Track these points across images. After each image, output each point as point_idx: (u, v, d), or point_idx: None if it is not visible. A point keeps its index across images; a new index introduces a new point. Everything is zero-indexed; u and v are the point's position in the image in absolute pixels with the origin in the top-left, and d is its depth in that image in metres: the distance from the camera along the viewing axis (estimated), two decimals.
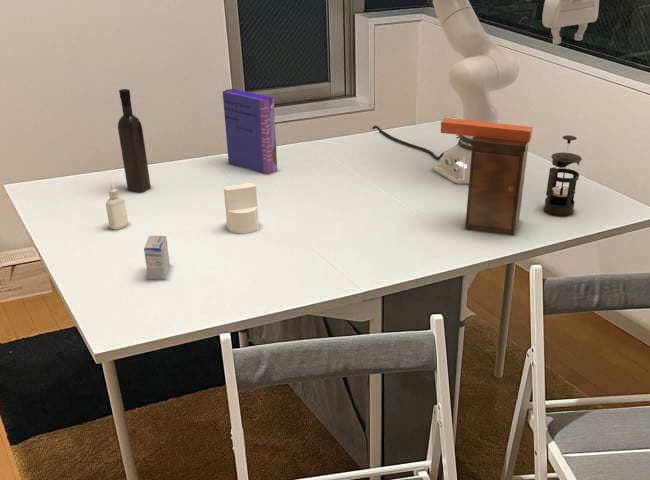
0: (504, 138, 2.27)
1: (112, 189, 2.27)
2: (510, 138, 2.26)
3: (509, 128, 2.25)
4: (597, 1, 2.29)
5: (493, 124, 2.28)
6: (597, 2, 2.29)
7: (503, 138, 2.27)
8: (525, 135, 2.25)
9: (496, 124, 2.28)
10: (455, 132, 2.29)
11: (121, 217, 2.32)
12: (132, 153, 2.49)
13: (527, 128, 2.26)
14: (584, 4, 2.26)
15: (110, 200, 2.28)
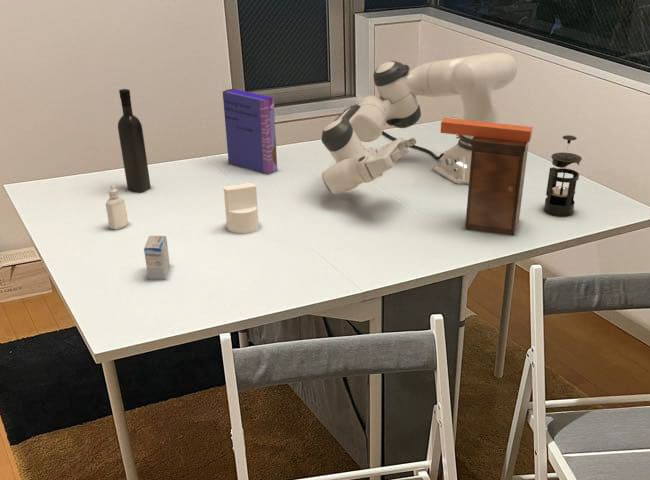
0: (504, 138, 2.27)
1: (112, 189, 2.27)
2: (510, 138, 2.26)
3: (509, 128, 2.25)
4: (386, 144, 2.47)
5: (493, 124, 2.28)
6: (387, 144, 2.47)
7: (503, 138, 2.27)
8: (525, 135, 2.25)
9: (496, 124, 2.28)
10: (455, 132, 2.29)
11: (121, 217, 2.32)
12: (132, 153, 2.49)
13: (527, 128, 2.26)
14: (383, 150, 2.43)
15: (110, 200, 2.28)
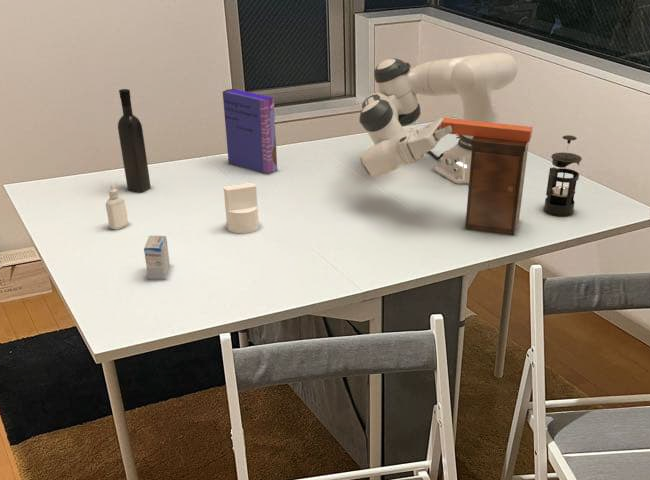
0: (504, 138, 2.27)
1: (112, 189, 2.27)
2: (510, 138, 2.26)
3: (509, 128, 2.25)
4: (426, 125, 2.41)
5: (493, 124, 2.28)
6: None
7: (503, 138, 2.27)
8: (525, 135, 2.25)
9: (496, 124, 2.28)
10: (455, 132, 2.29)
11: (121, 217, 2.32)
12: (132, 153, 2.49)
13: (527, 128, 2.26)
14: (424, 130, 2.37)
15: (110, 200, 2.28)
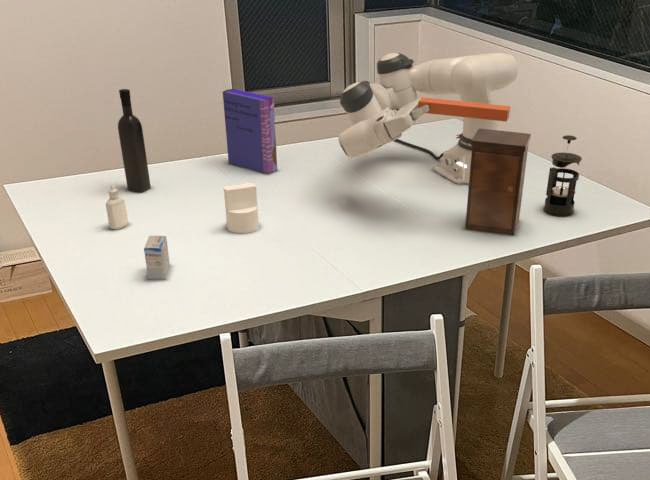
0: (481, 117, 2.25)
1: (112, 189, 2.27)
2: (487, 117, 2.25)
3: (486, 107, 2.24)
4: (404, 105, 2.39)
5: (471, 103, 2.27)
6: (405, 105, 2.39)
7: (480, 117, 2.25)
8: (502, 114, 2.23)
9: (474, 104, 2.26)
10: (432, 111, 2.28)
11: (121, 217, 2.32)
12: (132, 153, 2.49)
13: (505, 107, 2.25)
14: (402, 110, 2.35)
15: (110, 200, 2.28)
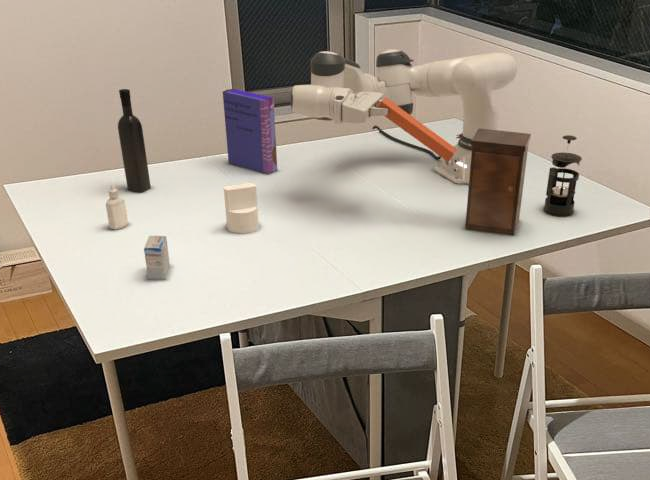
0: (429, 147, 2.33)
1: (112, 189, 2.27)
2: (434, 150, 2.33)
3: (437, 141, 2.32)
4: (365, 91, 2.40)
5: (425, 128, 2.34)
6: (366, 91, 2.40)
7: (428, 146, 2.33)
8: (447, 154, 2.33)
9: (427, 130, 2.34)
10: (389, 117, 2.32)
11: (121, 217, 2.32)
12: (132, 153, 2.49)
13: (452, 148, 2.35)
14: (361, 97, 2.36)
15: (110, 200, 2.28)
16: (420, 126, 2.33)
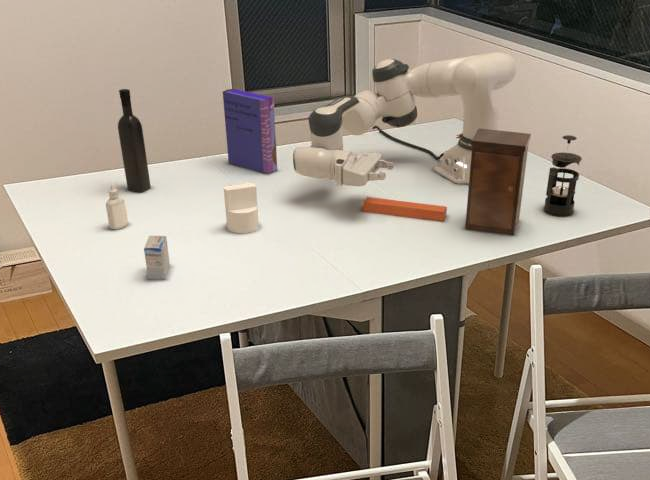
0: (420, 217, 2.46)
1: (112, 189, 2.27)
2: (426, 217, 2.45)
3: (425, 208, 2.45)
4: None
5: (411, 204, 2.47)
6: (365, 153, 2.50)
7: (420, 217, 2.46)
8: (439, 215, 2.44)
9: (413, 204, 2.47)
10: (376, 211, 2.48)
11: (121, 217, 2.32)
12: (132, 153, 2.49)
13: (442, 208, 2.45)
14: (361, 159, 2.46)
15: (110, 200, 2.28)
16: (405, 204, 2.47)
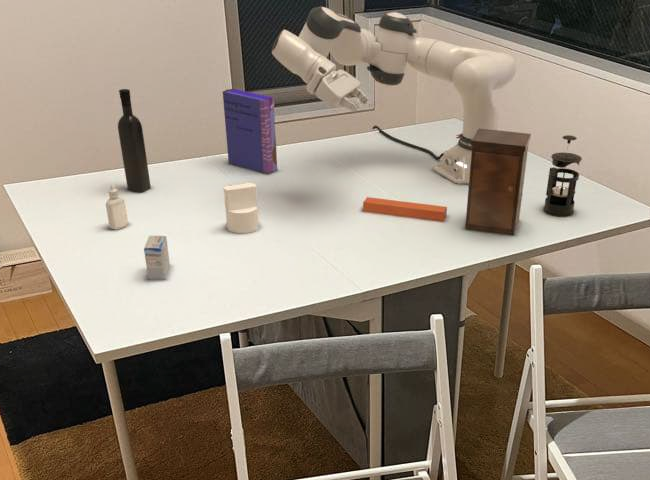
0: (420, 217, 2.46)
1: (112, 189, 2.27)
2: (426, 217, 2.46)
3: (425, 209, 2.45)
4: (346, 72, 2.38)
5: (411, 204, 2.47)
6: (347, 73, 2.38)
7: (420, 217, 2.46)
8: (439, 215, 2.44)
9: (413, 204, 2.47)
10: (376, 211, 2.48)
11: (121, 217, 2.32)
12: (132, 153, 2.49)
13: (442, 208, 2.45)
14: (341, 77, 2.34)
15: (110, 200, 2.28)
16: (405, 204, 2.47)
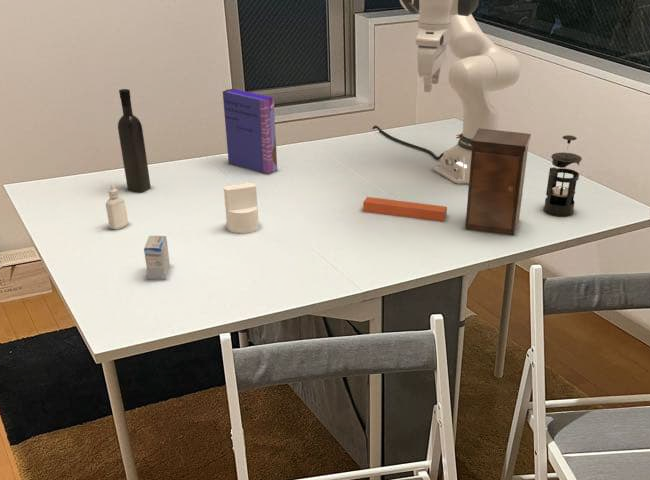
0: (421, 217, 2.46)
1: (112, 189, 2.27)
2: (426, 217, 2.45)
3: (425, 208, 2.45)
4: None
5: (411, 204, 2.47)
6: None
7: (420, 217, 2.46)
8: (439, 215, 2.44)
9: (414, 204, 2.47)
10: (376, 211, 2.48)
11: (121, 217, 2.32)
12: (132, 153, 2.49)
13: (442, 208, 2.45)
14: (441, 48, 2.24)
15: (110, 200, 2.28)
16: (405, 204, 2.47)
